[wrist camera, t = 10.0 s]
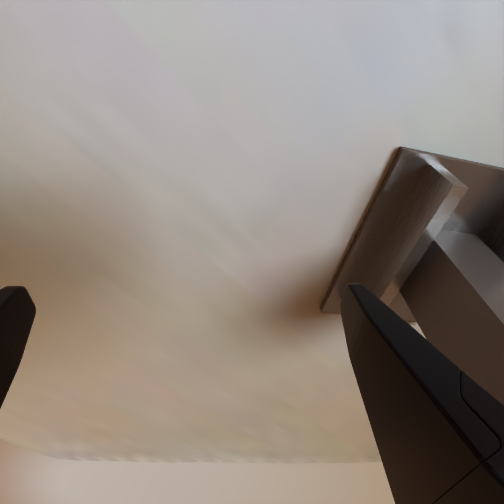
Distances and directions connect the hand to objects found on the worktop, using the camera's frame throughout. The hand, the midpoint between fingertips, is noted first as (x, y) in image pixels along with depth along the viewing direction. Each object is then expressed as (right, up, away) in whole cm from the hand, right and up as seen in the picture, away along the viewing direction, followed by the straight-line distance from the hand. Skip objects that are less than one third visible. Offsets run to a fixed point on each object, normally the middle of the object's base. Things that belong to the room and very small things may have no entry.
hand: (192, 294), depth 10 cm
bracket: (+16, +1, +17) cm, 23 cm away
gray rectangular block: (+16, +1, +17) cm, 23 cm away
